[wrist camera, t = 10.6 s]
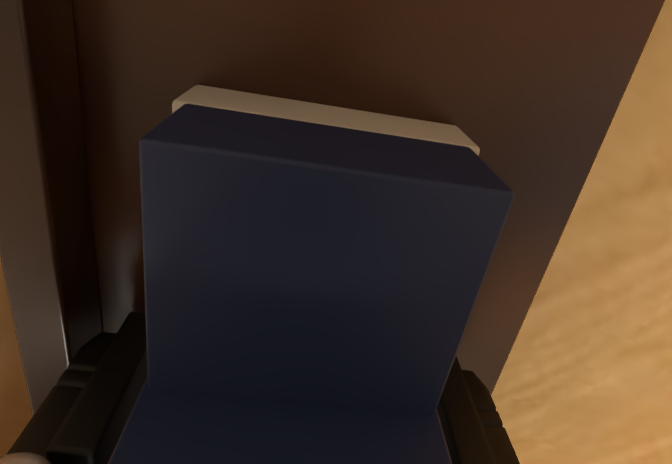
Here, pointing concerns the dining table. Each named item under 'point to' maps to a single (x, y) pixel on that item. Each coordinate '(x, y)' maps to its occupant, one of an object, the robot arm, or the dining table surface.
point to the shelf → (296, 84)
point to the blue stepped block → (304, 281)
